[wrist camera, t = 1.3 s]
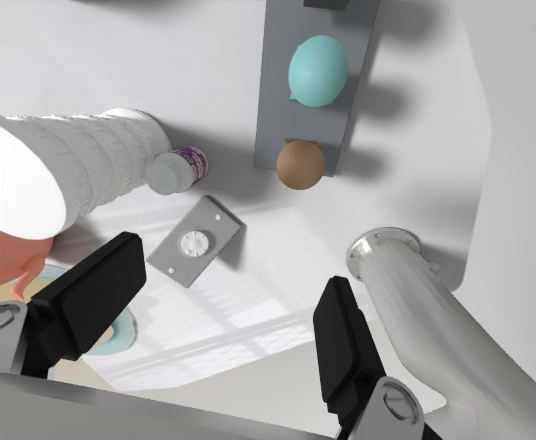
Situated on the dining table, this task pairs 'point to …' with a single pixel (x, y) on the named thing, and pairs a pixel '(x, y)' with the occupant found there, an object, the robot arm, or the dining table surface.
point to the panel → (277, 82)
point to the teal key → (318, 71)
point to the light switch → (194, 242)
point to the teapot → (22, 260)
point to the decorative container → (71, 166)
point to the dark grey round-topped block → (327, 4)
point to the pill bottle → (177, 170)
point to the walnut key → (300, 163)
